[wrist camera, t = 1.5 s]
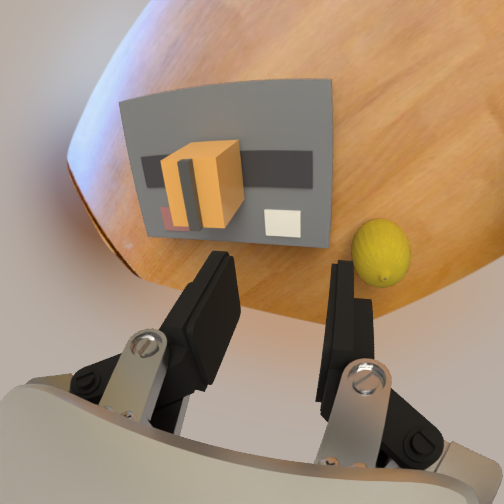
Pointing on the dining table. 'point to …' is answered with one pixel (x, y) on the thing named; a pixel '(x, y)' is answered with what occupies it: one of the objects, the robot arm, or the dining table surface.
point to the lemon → (381, 253)
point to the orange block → (204, 184)
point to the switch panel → (242, 156)
